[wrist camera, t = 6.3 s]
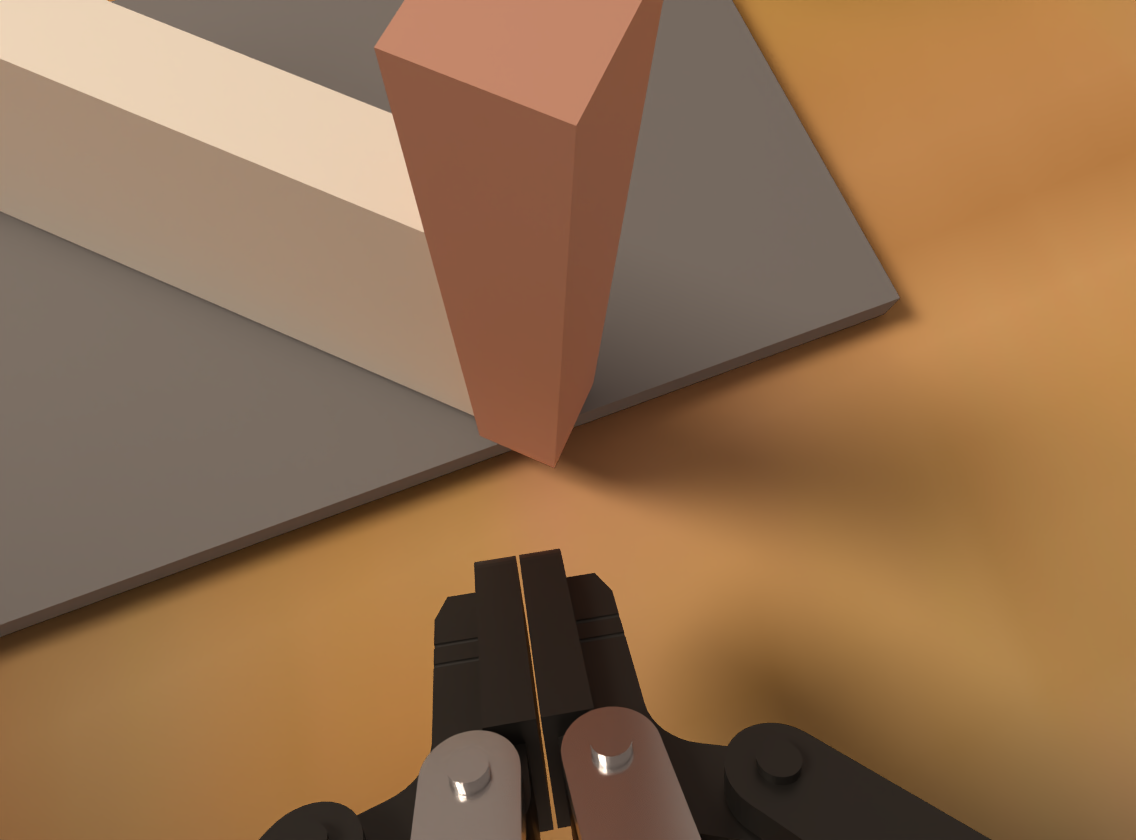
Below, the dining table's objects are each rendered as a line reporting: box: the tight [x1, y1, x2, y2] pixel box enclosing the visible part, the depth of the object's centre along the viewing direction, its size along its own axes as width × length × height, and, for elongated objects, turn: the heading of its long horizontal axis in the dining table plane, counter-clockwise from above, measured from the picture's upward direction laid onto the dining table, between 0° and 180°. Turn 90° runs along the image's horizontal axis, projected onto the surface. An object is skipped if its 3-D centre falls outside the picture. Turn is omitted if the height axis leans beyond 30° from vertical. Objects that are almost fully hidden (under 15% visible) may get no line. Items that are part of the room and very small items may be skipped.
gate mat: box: [0, 0, 900, 637], centre depth 22 cm, size 27×17×1 cm, turn 111°
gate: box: [0, 0, 663, 468], centre depth 14 cm, size 19×2×12 cm, turn 66°
